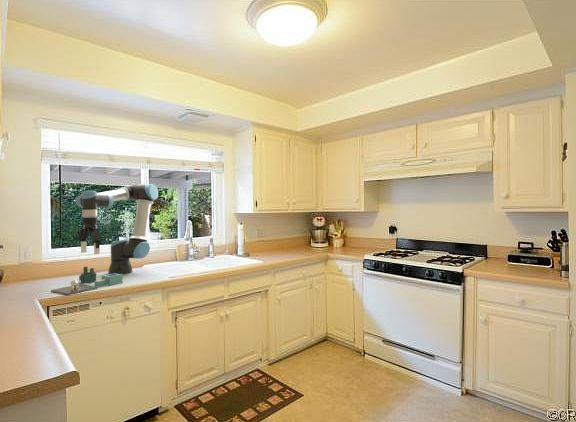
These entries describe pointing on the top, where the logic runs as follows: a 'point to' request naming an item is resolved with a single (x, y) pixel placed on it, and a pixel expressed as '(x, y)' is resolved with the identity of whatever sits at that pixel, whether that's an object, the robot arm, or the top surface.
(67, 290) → the post plate
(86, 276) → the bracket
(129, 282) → the top surface
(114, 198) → the robot arm
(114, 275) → the teal stepped block
